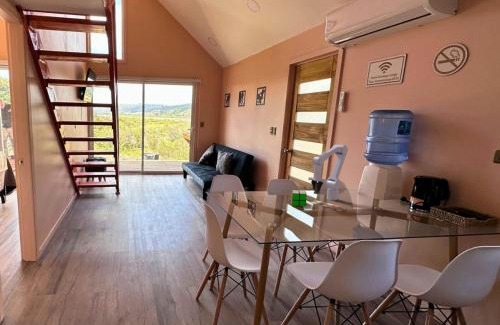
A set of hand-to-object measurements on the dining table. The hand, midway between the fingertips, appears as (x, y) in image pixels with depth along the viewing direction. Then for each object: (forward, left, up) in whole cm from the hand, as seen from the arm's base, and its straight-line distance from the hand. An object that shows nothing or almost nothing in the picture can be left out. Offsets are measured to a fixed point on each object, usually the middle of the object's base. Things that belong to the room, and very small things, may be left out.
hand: (316, 190), depth 222 cm
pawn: (0, 0, -2) cm, 2 cm away
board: (0, +10, -10) cm, 14 cm away
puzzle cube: (+14, -6, -10) cm, 18 cm away
